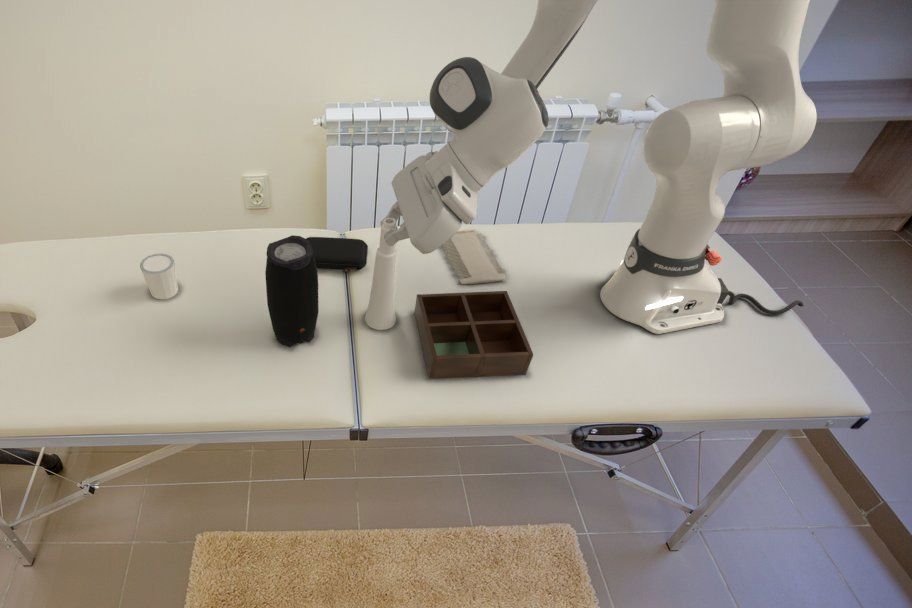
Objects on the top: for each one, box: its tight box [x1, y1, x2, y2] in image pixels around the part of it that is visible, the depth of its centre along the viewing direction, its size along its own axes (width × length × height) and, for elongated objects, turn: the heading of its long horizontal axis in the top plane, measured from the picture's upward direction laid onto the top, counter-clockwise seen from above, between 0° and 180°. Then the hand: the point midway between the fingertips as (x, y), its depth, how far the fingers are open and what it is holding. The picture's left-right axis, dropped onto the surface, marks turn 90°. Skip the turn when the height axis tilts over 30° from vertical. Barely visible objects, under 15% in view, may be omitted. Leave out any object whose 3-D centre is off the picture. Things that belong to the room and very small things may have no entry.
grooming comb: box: [441, 229, 507, 285], centre depth 124 cm, size 18×10×1 cm, turn 9°
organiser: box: [413, 290, 534, 380], centre depth 105 cm, size 17×17×5 cm
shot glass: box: [139, 253, 179, 300], centre depth 116 cm, size 7×7×7 cm
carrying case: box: [305, 236, 369, 273], centre depth 124 cm, size 11×3×15 cm
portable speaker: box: [264, 235, 319, 348], centre depth 102 cm, size 9×9×20 cm
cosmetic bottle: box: [364, 218, 398, 331], centre depth 104 cm, size 6×6×22 cm
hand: (385, 235), depth 97 cm, fingers closed on cosmetic bottle, 3 cm apart
